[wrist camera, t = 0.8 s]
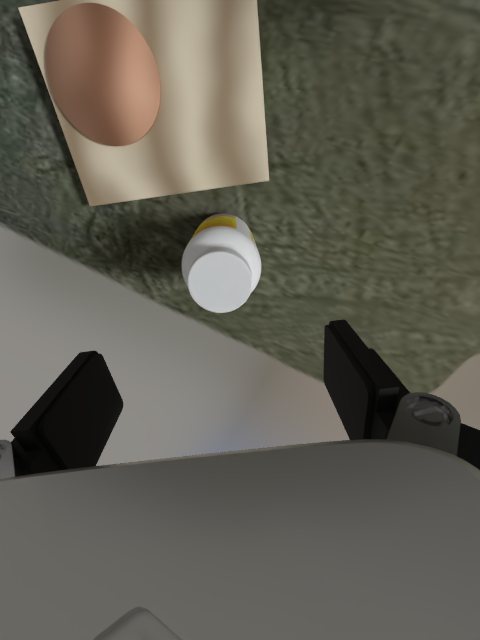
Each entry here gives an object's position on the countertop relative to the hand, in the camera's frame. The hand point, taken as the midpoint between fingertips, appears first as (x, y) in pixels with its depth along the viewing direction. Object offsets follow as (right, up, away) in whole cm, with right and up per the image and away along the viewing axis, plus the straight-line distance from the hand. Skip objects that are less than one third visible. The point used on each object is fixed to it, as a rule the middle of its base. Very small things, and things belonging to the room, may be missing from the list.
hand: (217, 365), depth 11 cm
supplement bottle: (-1, +11, +19) cm, 22 cm away
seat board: (-6, +21, +13) cm, 26 cm away
